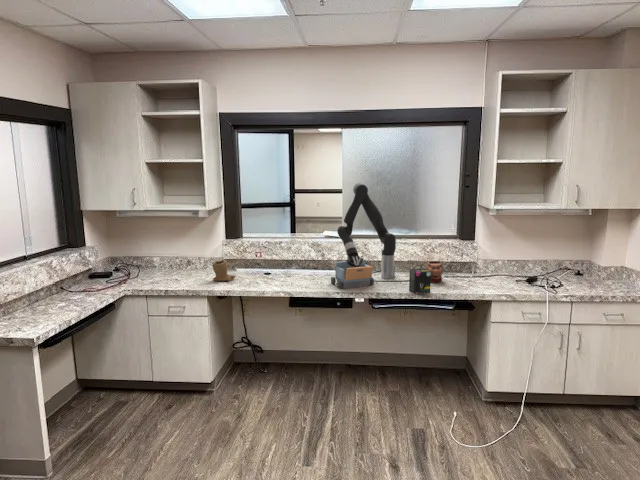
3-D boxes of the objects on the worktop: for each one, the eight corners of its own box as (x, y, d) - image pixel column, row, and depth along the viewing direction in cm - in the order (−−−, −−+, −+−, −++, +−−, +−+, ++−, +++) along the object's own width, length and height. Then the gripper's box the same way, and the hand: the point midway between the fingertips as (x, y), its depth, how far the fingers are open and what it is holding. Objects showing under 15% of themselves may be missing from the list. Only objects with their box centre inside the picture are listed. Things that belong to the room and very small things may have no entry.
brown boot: (210, 282, 300) (209, 262, 298) (216, 278, 312) (215, 258, 309) (230, 283, 298) (229, 262, 295) (236, 278, 309) (235, 259, 307)
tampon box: (415, 294, 266) (416, 272, 263) (408, 290, 274) (409, 269, 272) (430, 293, 269) (431, 271, 266) (423, 289, 277) (424, 267, 275)
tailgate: (369, 276, 285) (371, 265, 281) (370, 278, 284) (373, 267, 280) (344, 279, 279) (346, 268, 275) (345, 281, 278) (347, 269, 273)
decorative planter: (422, 277, 308) (423, 258, 305) (439, 277, 307) (440, 258, 305) (428, 284, 288) (429, 265, 286) (446, 284, 287) (447, 265, 285)
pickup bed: (363, 279, 304) (363, 257, 301) (374, 285, 288) (374, 262, 285) (330, 282, 295) (330, 260, 292) (339, 289, 279) (339, 266, 277)
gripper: (343, 247, 284) (351, 268, 275) (361, 246, 289) (369, 267, 279) (340, 253, 290) (347, 274, 280) (358, 252, 294) (365, 273, 285)
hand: (358, 271), depth 280 cm, fingers closed
